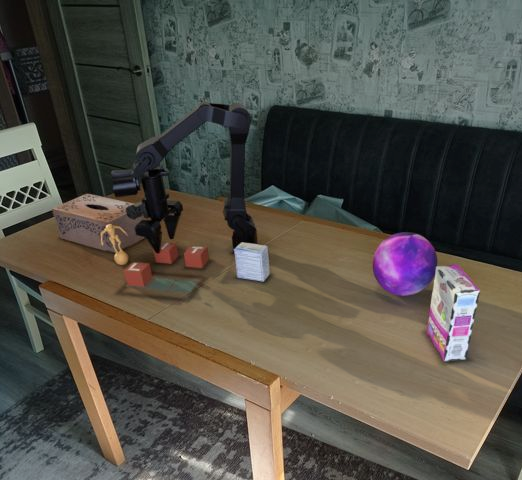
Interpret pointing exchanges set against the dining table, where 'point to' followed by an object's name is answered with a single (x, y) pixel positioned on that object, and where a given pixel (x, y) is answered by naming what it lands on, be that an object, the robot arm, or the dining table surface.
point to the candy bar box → (452, 312)
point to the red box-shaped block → (166, 253)
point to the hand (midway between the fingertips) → (164, 246)
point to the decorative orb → (404, 263)
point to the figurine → (120, 256)
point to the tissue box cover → (96, 222)
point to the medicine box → (252, 261)
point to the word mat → (166, 283)
